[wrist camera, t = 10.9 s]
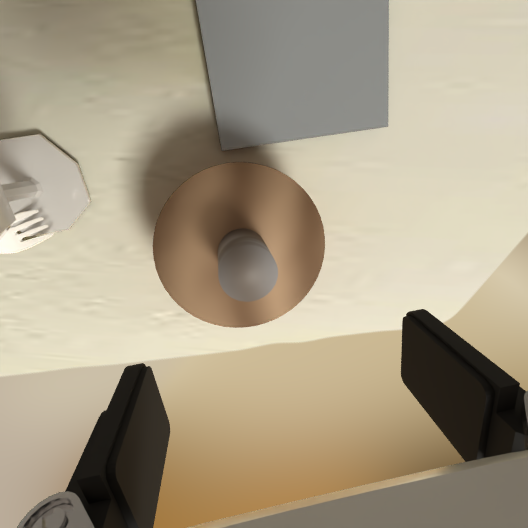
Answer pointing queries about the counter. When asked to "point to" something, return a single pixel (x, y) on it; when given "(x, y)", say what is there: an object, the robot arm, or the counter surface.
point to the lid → (238, 244)
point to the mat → (295, 67)
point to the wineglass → (39, 185)
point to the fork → (22, 234)
